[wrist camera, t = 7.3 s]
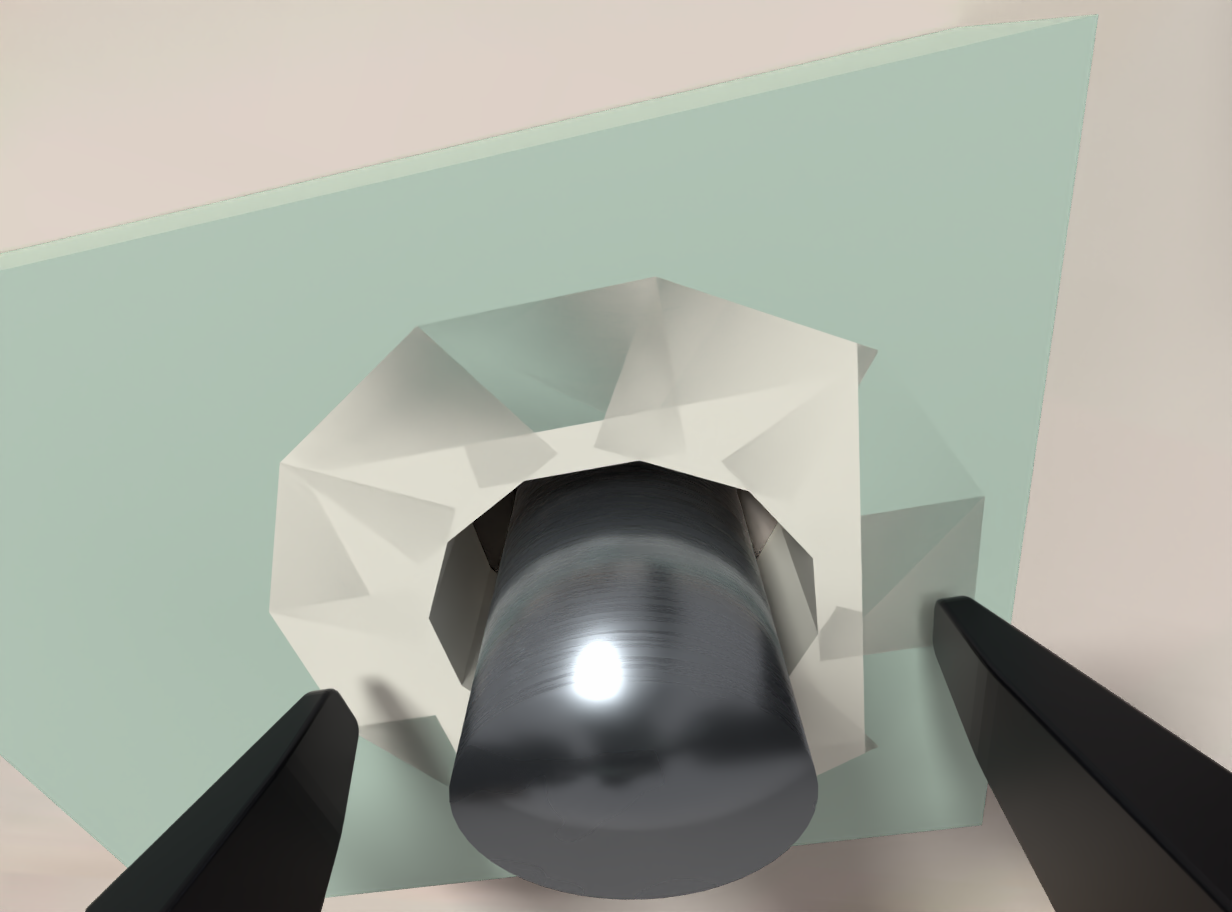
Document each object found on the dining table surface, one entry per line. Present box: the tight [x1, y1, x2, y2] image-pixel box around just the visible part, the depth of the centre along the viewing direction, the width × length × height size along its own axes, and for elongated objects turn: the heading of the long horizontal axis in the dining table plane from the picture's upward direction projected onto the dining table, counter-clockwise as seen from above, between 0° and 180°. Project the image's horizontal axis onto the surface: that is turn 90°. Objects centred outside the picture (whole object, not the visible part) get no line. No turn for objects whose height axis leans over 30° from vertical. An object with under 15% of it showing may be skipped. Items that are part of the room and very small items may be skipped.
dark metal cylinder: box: [449, 460, 818, 899], centre depth 10 cm, size 4×4×6 cm
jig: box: [0, 14, 1098, 898], centre depth 12 cm, size 18×14×3 cm
